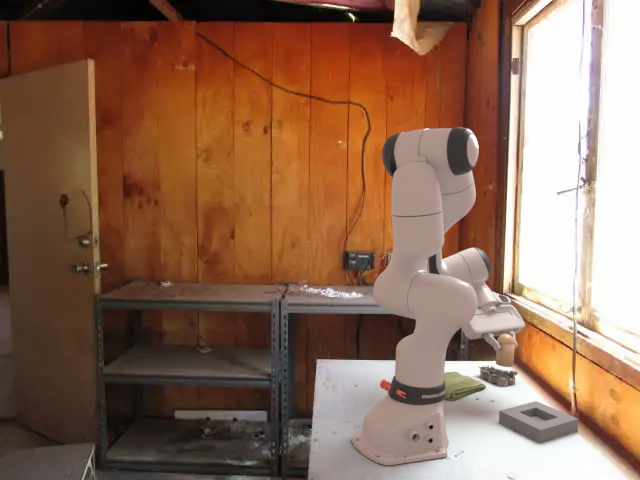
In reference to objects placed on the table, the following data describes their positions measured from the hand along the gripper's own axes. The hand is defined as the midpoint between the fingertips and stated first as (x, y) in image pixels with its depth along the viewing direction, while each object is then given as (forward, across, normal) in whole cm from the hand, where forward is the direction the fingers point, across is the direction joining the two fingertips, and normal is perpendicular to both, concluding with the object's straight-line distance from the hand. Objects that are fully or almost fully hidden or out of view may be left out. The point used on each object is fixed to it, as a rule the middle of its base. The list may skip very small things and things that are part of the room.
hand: (507, 348), depth 131 cm
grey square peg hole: (+19, 0, +5) cm, 20 cm away
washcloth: (0, -1, +25) cm, 25 cm away
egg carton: (0, +17, +24) cm, 30 cm away
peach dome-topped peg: (+3, 0, +4) cm, 4 cm away
